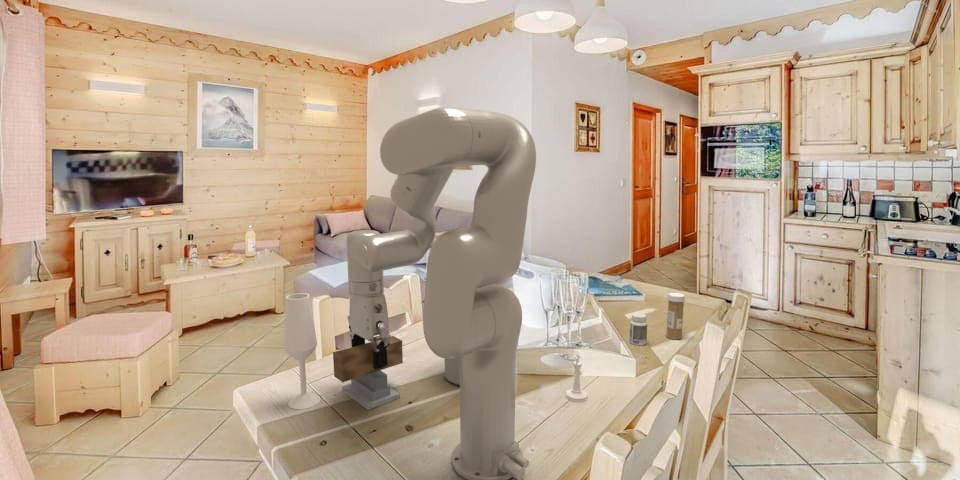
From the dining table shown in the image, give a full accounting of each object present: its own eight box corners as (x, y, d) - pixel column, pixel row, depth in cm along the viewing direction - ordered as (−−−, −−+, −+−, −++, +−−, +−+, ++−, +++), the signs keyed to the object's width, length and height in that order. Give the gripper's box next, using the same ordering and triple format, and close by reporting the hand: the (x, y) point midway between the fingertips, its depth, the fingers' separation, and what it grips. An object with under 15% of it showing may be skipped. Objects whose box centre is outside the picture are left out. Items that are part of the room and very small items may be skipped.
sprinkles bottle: (683, 340, 142) (686, 296, 139) (667, 339, 142) (670, 295, 140) (679, 335, 146) (682, 292, 144) (664, 334, 147) (666, 291, 145)
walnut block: (393, 357, 114) (392, 335, 113) (402, 363, 111) (402, 340, 110) (334, 376, 104) (333, 352, 103) (342, 382, 101) (341, 357, 101)
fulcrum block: (399, 397, 107) (399, 372, 106) (367, 410, 102) (366, 383, 101) (373, 380, 116) (372, 356, 115) (342, 390, 111) (341, 365, 110)
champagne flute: (325, 394, 109) (319, 292, 105) (312, 409, 102) (305, 301, 98) (297, 393, 109) (290, 291, 105) (282, 408, 103) (274, 300, 99)
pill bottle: (649, 343, 139) (651, 315, 138) (638, 346, 137) (640, 318, 135) (636, 338, 143) (638, 311, 142) (625, 341, 141) (627, 314, 139)
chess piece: (590, 395, 108) (592, 353, 107) (582, 404, 104) (584, 360, 103) (570, 389, 111) (571, 348, 109) (561, 398, 107) (562, 355, 105)
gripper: (402, 291, 101) (404, 367, 104) (362, 277, 114) (365, 345, 116) (370, 298, 96) (373, 378, 99) (332, 282, 109) (336, 353, 111)
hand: (369, 360), depth 108 cm, fingers open, 9 cm apart
